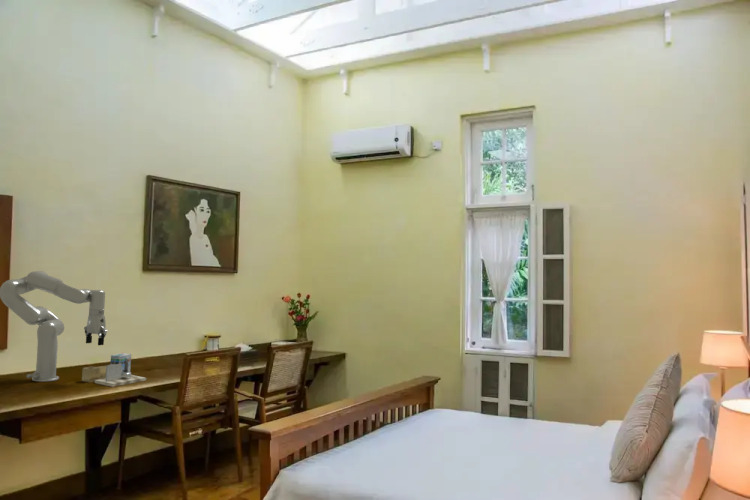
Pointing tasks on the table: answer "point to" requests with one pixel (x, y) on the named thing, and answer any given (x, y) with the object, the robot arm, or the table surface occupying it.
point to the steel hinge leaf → (117, 372)
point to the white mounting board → (121, 381)
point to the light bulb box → (121, 360)
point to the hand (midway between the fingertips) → (94, 344)
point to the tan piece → (93, 373)
